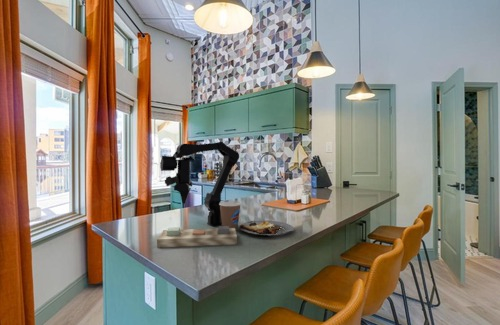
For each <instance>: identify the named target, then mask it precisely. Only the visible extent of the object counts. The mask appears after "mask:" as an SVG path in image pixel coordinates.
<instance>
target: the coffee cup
mask: <svg viewBox="0 0 500 325" xmlns="http://www.w3.org/2000/svg"><path fill="white" fill-rule="evenodd" d="M219 205H220V211H221V220H222V225H221V226H229V228H235V231H236V230H237V229H238V228H239V222H240V221H239V219H240V213H241V212H240V211H241V205H242V203H241V202H239V201H238V202H237V201H222V202H220V204H219Z"/></svg>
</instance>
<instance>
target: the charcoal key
mask: <svg viewBox="0 0 500 325" xmlns="http://www.w3.org/2000/svg"><path fill="white" fill-rule="evenodd" d="M217 226H218V227H217V229H218V234H229V226H222V225H217Z"/></svg>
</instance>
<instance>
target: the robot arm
mask: <svg viewBox="0 0 500 325" xmlns="http://www.w3.org/2000/svg"><path fill="white" fill-rule="evenodd" d="M211 151H218V153H220V155H221V156H223V159H222V167H221V169H220V171H219V174H218V176H217V179H216V181H215V183H214V186H213V188H212V190H211V192H206V195H205V198H204V199H203V201H204V202H203V204H204V207H205V208H206V209H207V211H208V214H207V222H206V224H207V225H209V226H211V227H217V226H222V220H221V211H220V205H219V204H220V203H222V202H221V201H222V193H223V191H224V187H225V185H226V183H227V180H228V178H229V177H230V176H229V175H230V173H231V171H232V169H233V167H234V166H235V165H237V162H238V161H239V160H240V154H239V152H238V151H237V150H235V149H233V148H232V147H230V146H228V145H227V144H226V143H225V142H223V141H217V142H211V143H210V142H209V143H201V144H193V143H181V144H178V146H177V147H176V151H175V152H174V153H173V155H171V156H166V155H161V158H160V162H159V165H160V166H159V168H160V171H162V172H165V171H166V172H167V171H168V172H169V171H173V172H174V171H175V170H176V169H177V172H176V174H175V176H173V177H172V176H170V175H169V176H166V178H165V179H164V184H165V186H166V187H170V186H171V185H173V191H177V193H179V195H180V200H181V202H182V204H184V205H185V204H186V201H187V199H188V196H189V194H190V192H191V190H192V188H191V187H193V181H192V180H191V161H192V162H195V158H193V157H192V155H194V154H197V153H202V152H211Z"/></svg>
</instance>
